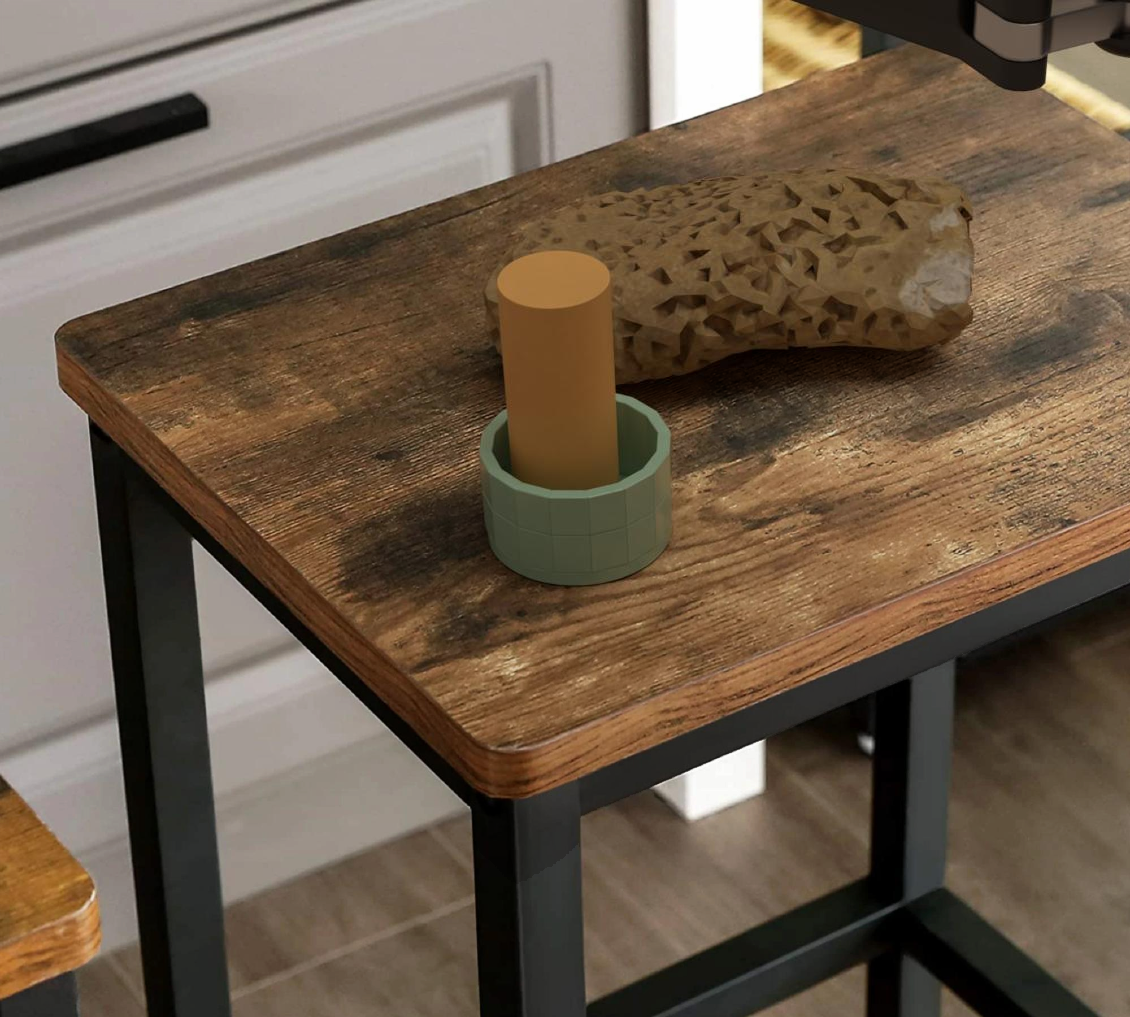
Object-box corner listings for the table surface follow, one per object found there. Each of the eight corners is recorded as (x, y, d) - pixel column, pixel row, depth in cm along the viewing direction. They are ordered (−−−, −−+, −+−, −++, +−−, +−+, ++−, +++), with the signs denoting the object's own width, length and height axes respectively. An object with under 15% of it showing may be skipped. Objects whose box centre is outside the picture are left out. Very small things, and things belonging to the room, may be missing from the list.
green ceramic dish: (702, 499, 83) (701, 412, 80) (623, 605, 78) (619, 515, 75) (539, 458, 85) (534, 373, 83) (454, 558, 80) (445, 471, 78)
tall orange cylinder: (595, 549, 79) (583, 316, 74) (497, 526, 81) (477, 296, 75) (636, 489, 82) (627, 260, 76) (541, 468, 84) (525, 242, 78)
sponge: (940, 279, 97) (503, 201, 97) (989, 143, 91) (525, 58, 91) (942, 491, 88) (462, 406, 88) (997, 355, 82) (483, 263, 82)
